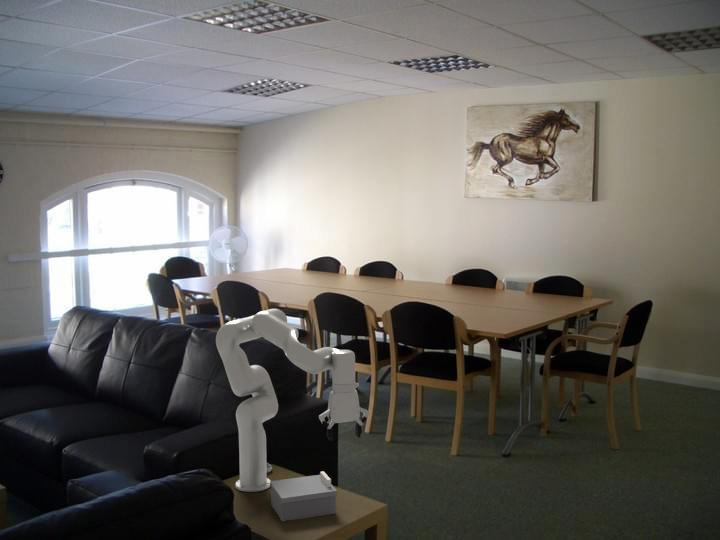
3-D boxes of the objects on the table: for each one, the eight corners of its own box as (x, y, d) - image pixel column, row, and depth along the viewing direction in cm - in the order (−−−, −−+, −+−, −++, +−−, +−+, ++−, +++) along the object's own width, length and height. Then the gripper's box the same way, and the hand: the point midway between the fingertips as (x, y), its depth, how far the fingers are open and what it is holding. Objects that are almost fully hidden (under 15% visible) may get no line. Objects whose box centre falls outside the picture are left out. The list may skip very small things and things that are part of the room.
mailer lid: (270, 485, 250) (269, 474, 250) (322, 478, 257) (322, 467, 256) (281, 503, 236) (281, 490, 235) (337, 495, 242) (336, 483, 242)
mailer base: (271, 505, 250) (271, 484, 250) (322, 497, 256) (322, 477, 256) (281, 521, 237) (281, 500, 237) (335, 513, 243) (335, 492, 243)
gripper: (364, 382, 254) (365, 432, 255) (315, 387, 248) (316, 437, 250) (372, 387, 247) (372, 438, 248) (321, 392, 241) (322, 444, 243)
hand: (344, 438), depth 249 cm, fingers open, 9 cm apart
